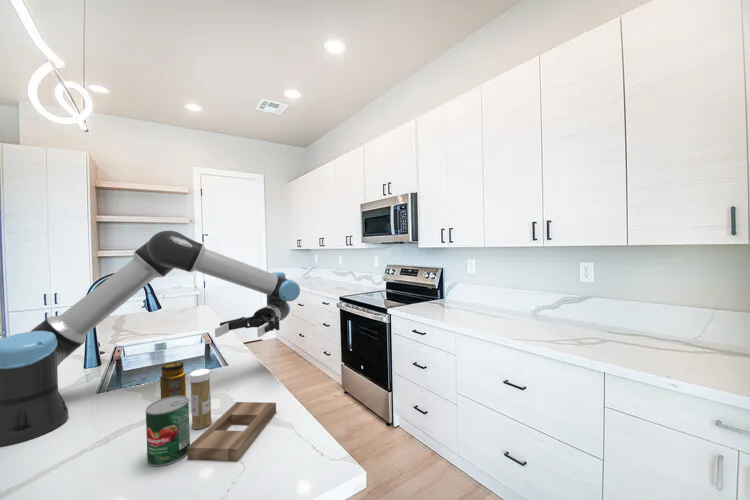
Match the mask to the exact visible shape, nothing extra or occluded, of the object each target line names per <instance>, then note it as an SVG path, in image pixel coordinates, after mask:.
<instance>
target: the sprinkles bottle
mask: <svg viewBox="0 0 750 500" xmlns="http://www.w3.org/2000/svg"><path fill="white" fill-rule="evenodd" d="M210 380H211V371H210V369H208V368H201V369H200V368H199V369H197V370H196V369H195V370H193V371H191V372H190V373H189V382H190V411H191V412H190V413H191V419H192V420H191V421H192V422H191V427H192V429H195V430H200V429H204V428H206V427H208V426H211V425H212V422H213V421H212V404H211V402H212V401H211V384H210V382H211V381H210Z"/></svg>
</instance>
